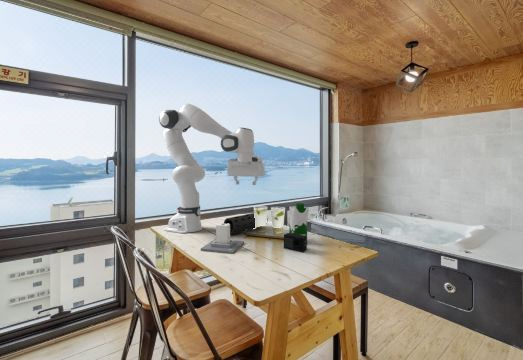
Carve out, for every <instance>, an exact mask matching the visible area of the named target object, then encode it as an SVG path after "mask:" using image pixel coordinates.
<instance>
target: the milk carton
mask: <svg viewBox="0 0 523 360" xmlns="http://www.w3.org/2000/svg"><path fill="white" fill-rule="evenodd" d="M288 207H289V208H288V209H289V212H288V213H289V226H288V227H289V230H288V231H289V232H288V233H292V234H298V235H304V236H307V237H308V219H309V218H308V215H309V208H308V207H306V206H305V203H301V202H300V203H296V206H295V205H294V206H288Z"/></svg>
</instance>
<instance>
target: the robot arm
mask: <svg viewBox="0 0 523 360" xmlns="http://www.w3.org/2000/svg"><path fill="white" fill-rule="evenodd" d="M158 121H159V124H160V126H161V127H162V128H164V129H165V130H164V131H163V132H162V133H163V134H162V137H163V141H164V143H165V146H166V149H167V151H168V152H169V156H170V157H171V160H172V161H173V162H174V163H176V165H178V166H177V167H174V169H173V170H172V173H171V174H172V175H171V177H172V181H174V182H175V183H176V185H177V188H178V191H179V198H180V199H179V200H180V206H178V207H176V211H177V213H176V214H174V215H173V216H172V217H171V218H170V219H169V220H168V226H166V227H164V229H163V230H164V231H165V232H166V231H167V232H171V233H172V232H173V233H179V234H186V233H196V232H199V231H202V230H203V225H202V221H201V206H200V192H199V191H198V189H197V187H196V183H199V182H200V181H202V180H204V178H205V175H206V172H205V169H204V167H202V166H201V165H200V164H199V163H198V162H197V160H196V158H195V157H194V156H193V155H192V153H191V152H190V149H189V147H188V145H187V143H186V141H185V139H184V137H183V133H186V132H187V131H188V130H189V129H190V128H191V127H192V128H193V129H194V130H196V131H198V132H200V133H205V134H210V135H214V136H216V137H218V138H219V139H220V147H221V149H222V151H224V152H227V153H233V154H237V158H230V159H228V160H227V171H226V172H227V176H228V177H230V176H231V177H233V179H234V182H235V185H240V180H238V177H254V181H252V185H253V186H257V181H258V179H259V177H264V176H265V173H266V170H265V164H264V163H263V161H264V158H262V157H261V156H260V157H259V156H257V155H255V151H254V147H255V136H254V131H253V130H252V129H250V128H247V127H239V128H238V129H237V130H235V131H234V132H232V131H230V130H228V129H227V128H226V127H224V126H222V125H221V124H220V123H218V122H217V120H216V119H214V118H213V117H211V116H210V114H208V113H207V112H205V111H204V110H202V108H199V106H196V105H193V104H191V103H185V104H184V105H182V107H181V108H180V110H178V109H176V110H175V109H166V110H163V111H161V112H160V113H159V116H158Z"/></svg>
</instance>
